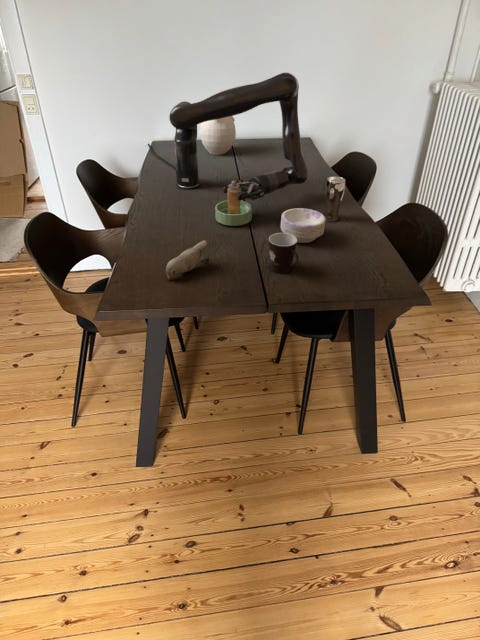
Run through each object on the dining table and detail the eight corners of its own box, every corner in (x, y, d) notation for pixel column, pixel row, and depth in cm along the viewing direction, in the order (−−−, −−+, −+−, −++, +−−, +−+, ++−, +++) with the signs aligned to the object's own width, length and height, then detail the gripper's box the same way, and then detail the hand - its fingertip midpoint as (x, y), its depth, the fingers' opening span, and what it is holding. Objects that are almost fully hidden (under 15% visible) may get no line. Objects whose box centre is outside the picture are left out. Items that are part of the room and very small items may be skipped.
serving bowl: (208, 218, 163) (207, 205, 160) (236, 209, 170) (236, 197, 167) (230, 231, 155) (230, 218, 152) (259, 221, 162) (259, 208, 159)
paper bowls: (326, 231, 156) (329, 210, 151) (318, 250, 144) (321, 228, 139) (285, 224, 159) (287, 204, 154) (274, 243, 148) (276, 221, 143)
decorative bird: (162, 277, 130) (159, 255, 126) (201, 258, 140) (199, 237, 135) (173, 284, 127) (171, 262, 123) (212, 264, 137) (211, 243, 132)
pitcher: (235, 157, 220) (235, 104, 205) (199, 157, 220) (196, 104, 205) (236, 147, 235) (236, 96, 219) (202, 146, 235) (200, 96, 220)
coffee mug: (265, 261, 138) (266, 233, 132) (291, 260, 139) (294, 232, 133) (270, 281, 129) (272, 251, 123) (298, 279, 130) (301, 250, 124)
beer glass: (339, 222, 161) (346, 183, 152) (320, 221, 162) (326, 182, 153) (340, 215, 166) (346, 176, 157) (321, 213, 167) (327, 175, 158)
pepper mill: (225, 217, 162) (224, 180, 154) (235, 213, 165) (235, 177, 156) (233, 221, 160) (232, 184, 151) (243, 218, 162) (243, 181, 153)
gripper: (252, 169, 166) (219, 178, 158) (277, 179, 157) (243, 189, 149) (252, 188, 170) (219, 197, 162) (276, 199, 162) (243, 210, 154)
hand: (230, 194), depth 156 cm, fingers open, 8 cm apart
